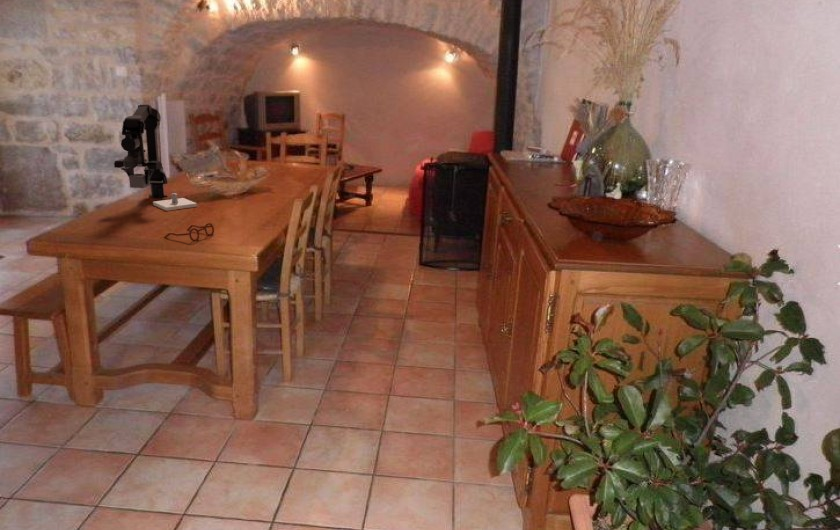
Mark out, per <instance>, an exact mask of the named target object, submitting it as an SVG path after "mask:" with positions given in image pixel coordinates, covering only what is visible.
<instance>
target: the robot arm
mask: <svg viewBox="0 0 840 530" xmlns="http://www.w3.org/2000/svg"><path fill="white" fill-rule="evenodd" d="M161 119H162V118H161V114H160V112H159V110H157V109H155V108H154V107H152V106H151V105H149V104H138V105H137V108H136V110H135V111H134V113H133V114H132V115H130V116H127V117H125V118H124V120H123V121H122V131H121V135H122V136H124V138H122V140H121V142H120V146H121V149H123V150H124V151H126V152H127V155H126V156H125V157H124V158H122V159H116V160H114V162H113V168H118V169H120V170H122V171H124V172H125V173H126V175H127V177H128V178H129V176H130V175H133V174H135V168H136V167H144V169H143V174H145V179H146V185H148V184H149V181H150V186H149V187H150V194H148V196H149V197H151V198H153V199H158V198H164V197H165V198H166V197H168V195H167V194H165V186H164V185H168V182H169V181H168V178H167V177H168V176H167V175H166V173H165V171H164V167H163V164H162V162H161V160H160V159H159V148H158V147H159V145H158V132H157V131H158V128H159V127H160V125H161ZM144 133H145V137H146V148H147V149H144V148H145V147H144V139H143V134H144ZM146 150H147V159H148V161H147V159H146V158H145V153H146Z"/></svg>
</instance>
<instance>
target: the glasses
mask: <svg viewBox="0 0 840 530" xmlns="http://www.w3.org/2000/svg"><path fill="white" fill-rule="evenodd" d="M192 227H194V228H192ZM207 228H211V232H210V233H208V230H207ZM186 231H189V232H188V233H187V232H186V233H175V232H169V233H167V234H166V235H165V236H163V238H164V239H166V238H168V237H169V236H171V235H172V236H176V237H181V236H189V238H190V240H191V241H192V242H196V241H198V240H199V239H200V231H204V232H205V234H206V235H207V236H208V237H210V236H213V235H214V233H215V227H214V225H213V224H212V223H211V222H210V223H209V222H208V223H206V224H205V225H202V226H201V225H200V226H199V225H196V224H195V225H194V224H192V225H190V226H189V227H188V228H187V229H186ZM192 231H196V234H197V237H196V238H195V239H194V238H193V237H192Z"/></svg>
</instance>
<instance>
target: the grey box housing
mask: <svg viewBox="0 0 840 530" xmlns="http://www.w3.org/2000/svg"><path fill="white" fill-rule="evenodd" d="M128 180H129V187H130V188H131V189H135V188H137V189H145V188H148V187H151V186H150V181H149V184H148V185H146V179H145V174H144V173H134V174H133V175H130V176H129V177H128Z"/></svg>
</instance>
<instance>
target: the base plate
mask: <svg viewBox="0 0 840 530" xmlns="http://www.w3.org/2000/svg"><path fill="white" fill-rule="evenodd" d="M170 195H171V196H170V197H171V199H165V200H157V201H155V200H154V201H152V205H153V206H154V207H157V208H159V209H161V210H163V211H166V212H167V211H168V212H169V211H175V210H182V209H189V208H197V207H198V203H197V202H194V201H192V200H190V199H187V198H185V197H180V198H178V194H177V193H176V192H173V193H171V194H170Z"/></svg>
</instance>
